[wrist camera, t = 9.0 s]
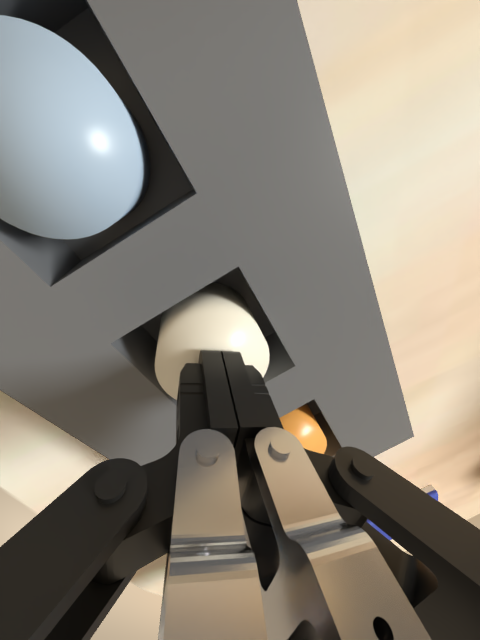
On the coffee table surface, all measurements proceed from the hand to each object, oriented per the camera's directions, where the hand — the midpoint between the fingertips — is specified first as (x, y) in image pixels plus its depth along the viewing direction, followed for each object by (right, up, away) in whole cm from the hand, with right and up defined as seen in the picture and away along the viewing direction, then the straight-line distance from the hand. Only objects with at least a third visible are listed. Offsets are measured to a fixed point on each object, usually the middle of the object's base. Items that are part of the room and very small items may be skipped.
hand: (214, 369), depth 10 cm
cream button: (-1, +2, +3) cm, 3 cm away
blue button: (-4, +8, -1) cm, 9 cm away
